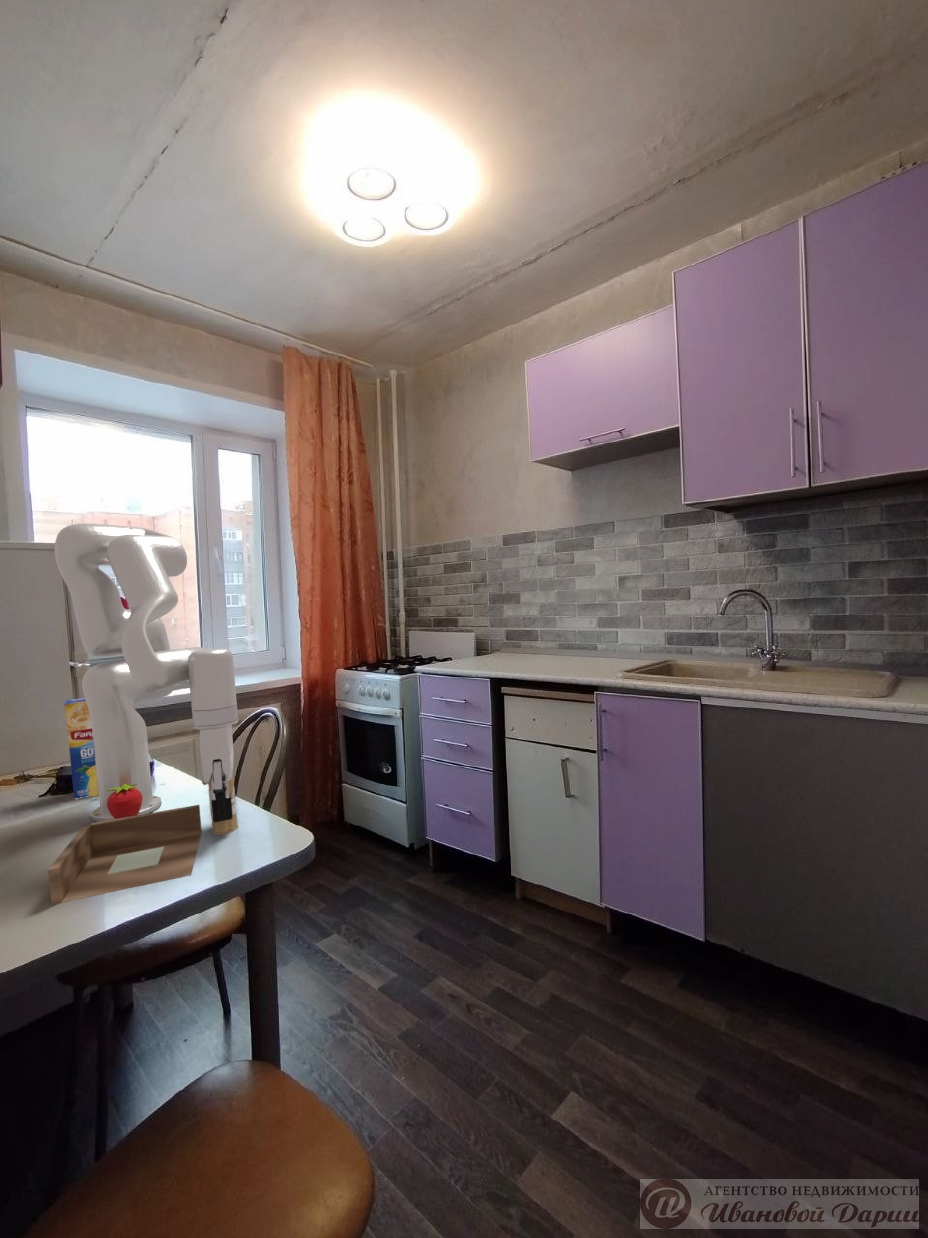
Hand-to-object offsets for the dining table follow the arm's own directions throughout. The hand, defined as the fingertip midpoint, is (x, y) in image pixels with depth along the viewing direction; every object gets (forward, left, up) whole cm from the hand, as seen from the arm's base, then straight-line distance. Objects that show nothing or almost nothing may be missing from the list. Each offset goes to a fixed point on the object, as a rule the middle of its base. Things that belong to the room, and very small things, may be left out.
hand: (223, 814), depth 104 cm
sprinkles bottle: (0, 0, -4) cm, 4 cm away
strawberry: (-12, -18, -4) cm, 22 cm away
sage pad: (+7, -13, -3) cm, 15 cm away
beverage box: (-43, -29, -4) cm, 52 cm away
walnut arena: (+8, -13, -3) cm, 16 cm away
